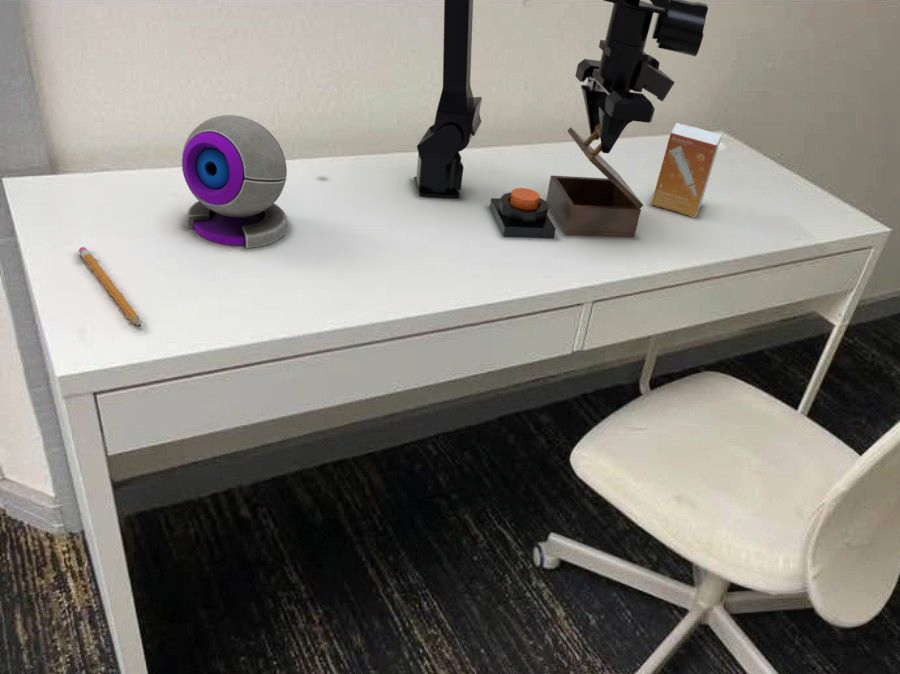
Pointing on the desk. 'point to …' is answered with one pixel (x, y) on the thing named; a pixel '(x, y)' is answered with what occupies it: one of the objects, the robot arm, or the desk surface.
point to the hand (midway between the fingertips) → (599, 145)
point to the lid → (603, 163)
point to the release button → (524, 198)
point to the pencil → (110, 286)
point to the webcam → (235, 182)
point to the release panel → (521, 219)
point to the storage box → (591, 207)
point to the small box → (686, 169)
